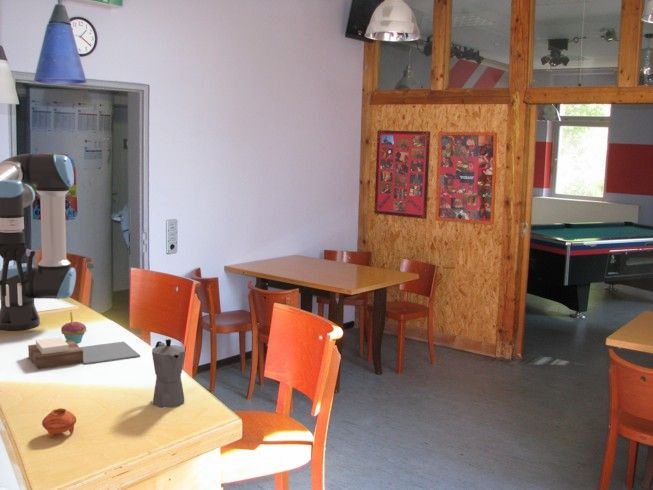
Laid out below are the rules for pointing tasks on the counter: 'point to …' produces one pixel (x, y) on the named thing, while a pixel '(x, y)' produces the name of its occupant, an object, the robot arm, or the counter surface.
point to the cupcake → (73, 330)
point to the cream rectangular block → (52, 345)
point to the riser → (56, 356)
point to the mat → (107, 352)
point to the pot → (59, 422)
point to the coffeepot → (168, 374)
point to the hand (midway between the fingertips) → (13, 305)
